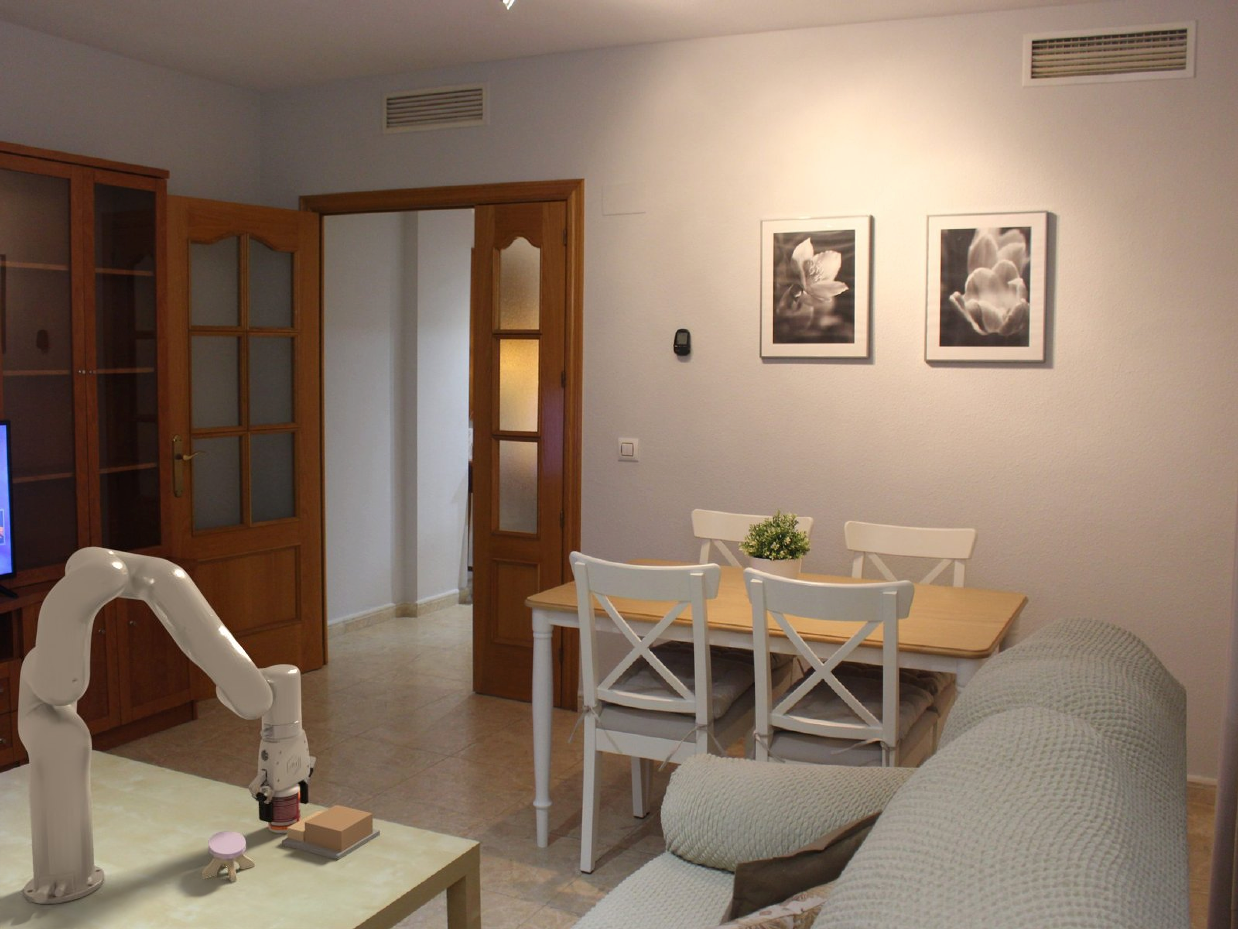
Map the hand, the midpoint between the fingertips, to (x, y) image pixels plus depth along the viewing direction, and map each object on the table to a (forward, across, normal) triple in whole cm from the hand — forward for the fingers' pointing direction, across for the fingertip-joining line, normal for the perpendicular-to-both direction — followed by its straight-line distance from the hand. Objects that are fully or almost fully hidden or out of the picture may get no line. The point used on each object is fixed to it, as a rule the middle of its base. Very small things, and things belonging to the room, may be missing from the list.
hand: (284, 811), depth 211 cm
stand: (+3, 0, -12) cm, 12 cm away
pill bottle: (+4, 0, 0) cm, 4 cm away
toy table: (+4, -18, -4) cm, 19 cm away
